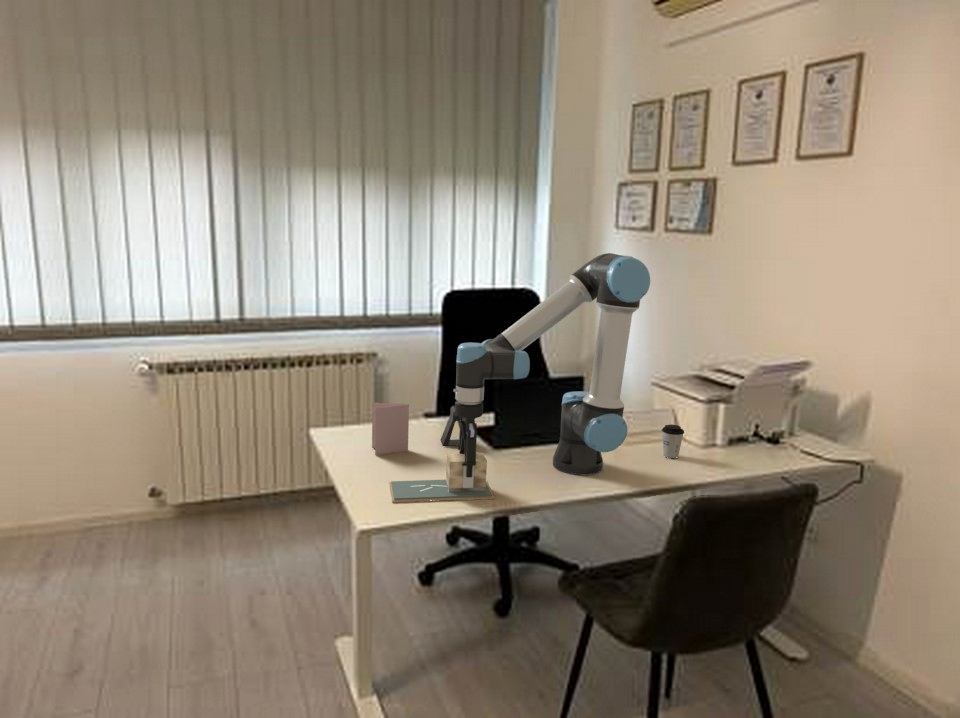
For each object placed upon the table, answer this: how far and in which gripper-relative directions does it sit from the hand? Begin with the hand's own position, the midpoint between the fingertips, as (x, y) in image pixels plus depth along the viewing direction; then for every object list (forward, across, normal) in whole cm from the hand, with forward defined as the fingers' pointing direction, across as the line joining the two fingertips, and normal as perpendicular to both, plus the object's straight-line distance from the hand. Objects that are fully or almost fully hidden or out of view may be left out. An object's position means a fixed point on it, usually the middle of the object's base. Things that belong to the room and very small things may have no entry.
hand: (465, 482), depth 200 cm
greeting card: (+3, -33, -19) cm, 38 cm away
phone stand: (+2, -40, +3) cm, 40 cm away
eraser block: (+1, 0, 0) cm, 1 cm away
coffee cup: (+2, -22, +70) cm, 74 cm away
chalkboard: (+2, 0, -7) cm, 7 cm away
